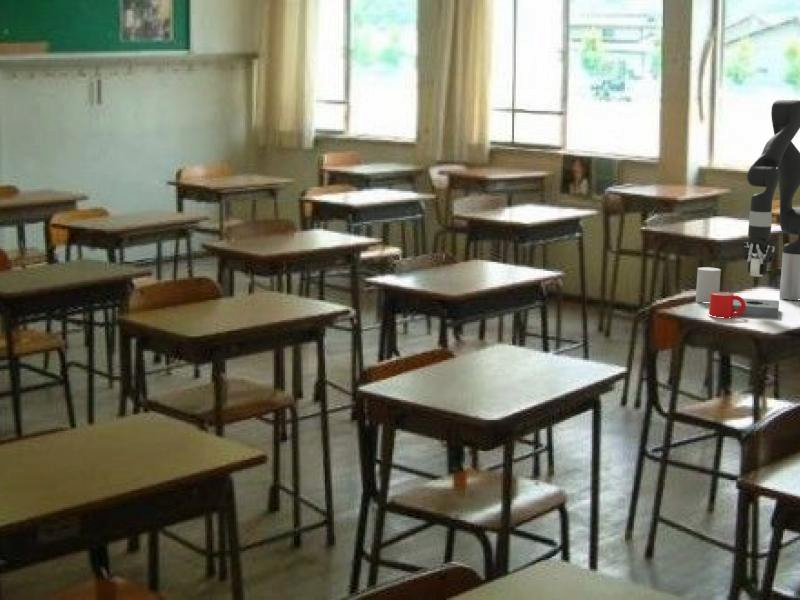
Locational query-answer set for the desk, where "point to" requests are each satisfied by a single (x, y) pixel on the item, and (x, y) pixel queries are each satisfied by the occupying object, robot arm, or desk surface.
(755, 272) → the bushing
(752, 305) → the block
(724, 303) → the mug
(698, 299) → the cup
